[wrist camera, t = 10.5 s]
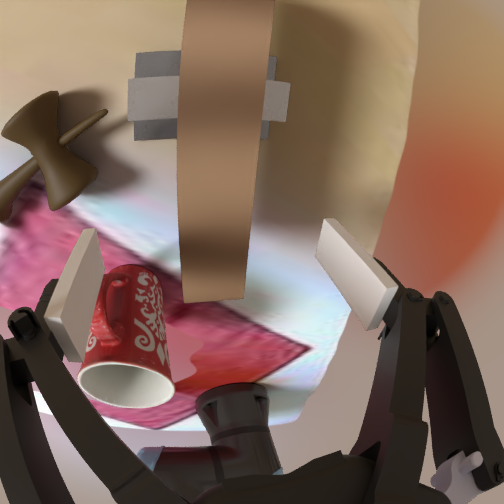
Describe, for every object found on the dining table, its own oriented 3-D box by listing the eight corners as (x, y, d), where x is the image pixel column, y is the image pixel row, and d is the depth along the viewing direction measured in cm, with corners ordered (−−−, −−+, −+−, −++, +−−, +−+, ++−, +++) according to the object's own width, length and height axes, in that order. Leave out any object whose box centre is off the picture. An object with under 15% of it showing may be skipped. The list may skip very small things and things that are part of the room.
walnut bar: (228, 249, 24) (243, 298, 19) (181, 251, 23) (183, 303, 18) (255, -44, 10) (284, -79, 5) (197, -49, 9) (205, -89, 4)
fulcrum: (265, 138, 25) (287, 154, 20) (135, 139, 22) (122, 156, 17) (275, 57, 20) (301, 52, 15) (137, 53, 17) (123, 45, 13)
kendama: (-29, 178, 18) (95, 62, 17) (12, 238, 24) (139, 148, 23) (-57, 203, 13) (69, 62, 12) (-9, 270, 19) (127, 171, 18)
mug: (175, 311, 34) (183, 407, 24) (109, 316, 33) (99, 409, 22) (160, 224, 27) (154, 328, 17) (80, 234, 25) (38, 333, 15)
